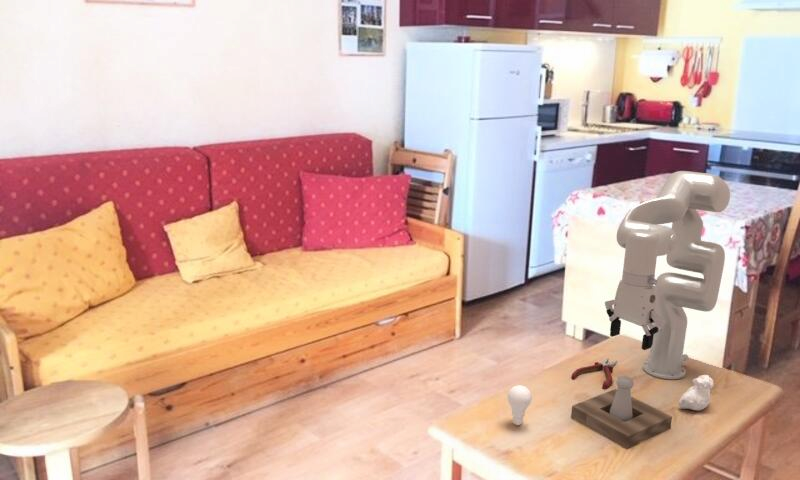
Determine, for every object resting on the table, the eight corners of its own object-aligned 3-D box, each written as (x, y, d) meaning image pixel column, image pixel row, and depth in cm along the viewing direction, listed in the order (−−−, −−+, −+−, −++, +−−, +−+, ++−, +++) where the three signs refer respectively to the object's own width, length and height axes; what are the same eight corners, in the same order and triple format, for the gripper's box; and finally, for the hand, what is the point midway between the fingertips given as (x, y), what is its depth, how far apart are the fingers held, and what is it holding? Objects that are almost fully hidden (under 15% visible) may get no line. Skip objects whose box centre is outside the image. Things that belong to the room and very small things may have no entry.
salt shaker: (604, 421, 181) (609, 377, 178) (615, 414, 185) (620, 370, 182) (624, 430, 177) (630, 385, 174) (635, 423, 181) (641, 378, 178)
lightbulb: (532, 423, 179) (535, 385, 177) (524, 433, 174) (527, 394, 172) (510, 416, 182) (513, 379, 180) (502, 426, 177) (504, 388, 174)
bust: (682, 421, 187) (711, 402, 179) (665, 397, 190) (692, 377, 183) (705, 408, 194) (734, 389, 187) (688, 385, 197) (715, 366, 190)
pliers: (630, 368, 214) (631, 360, 214) (606, 391, 199) (607, 383, 198) (595, 358, 221) (595, 351, 220) (569, 380, 206) (570, 372, 205)
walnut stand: (614, 400, 193) (615, 388, 192) (670, 428, 179) (672, 416, 178) (571, 417, 183) (572, 405, 182) (627, 448, 169) (628, 436, 168)
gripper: (677, 285, 166) (668, 350, 170) (619, 267, 179) (612, 327, 184) (659, 291, 161) (650, 357, 166) (600, 271, 175) (593, 333, 180)
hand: (630, 341), depth 175 cm, fingers open, 9 cm apart
